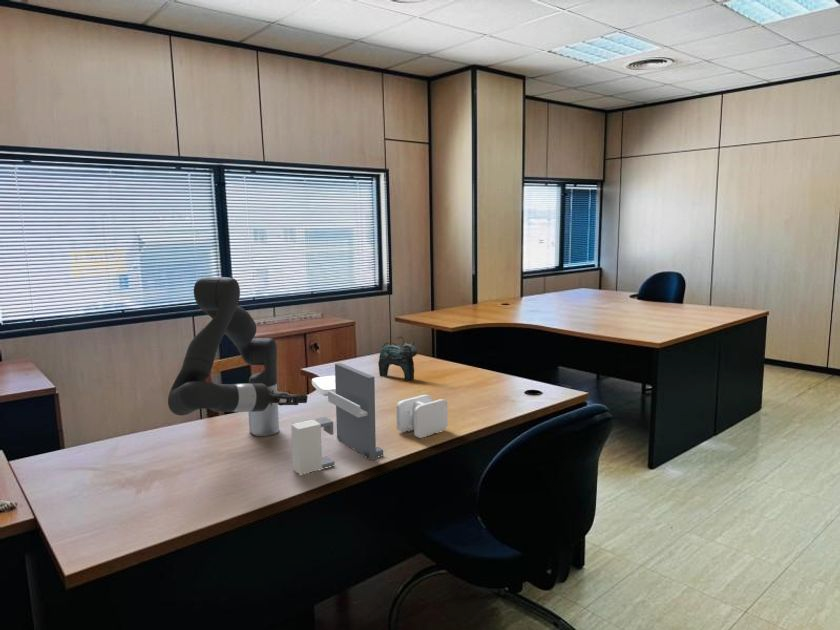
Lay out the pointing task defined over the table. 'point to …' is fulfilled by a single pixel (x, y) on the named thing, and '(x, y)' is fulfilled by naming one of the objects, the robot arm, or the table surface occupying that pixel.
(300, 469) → the white block
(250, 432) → the robot arm
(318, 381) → the mac mini
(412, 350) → the ceramic cat
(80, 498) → the table surface
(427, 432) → the cable organizer
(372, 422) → the wall board
